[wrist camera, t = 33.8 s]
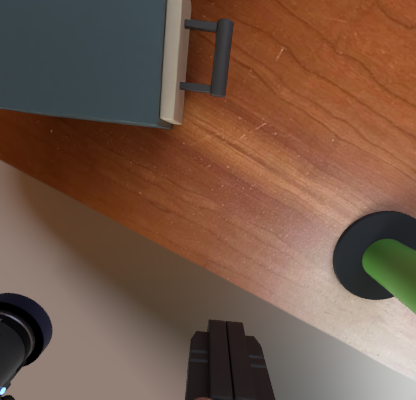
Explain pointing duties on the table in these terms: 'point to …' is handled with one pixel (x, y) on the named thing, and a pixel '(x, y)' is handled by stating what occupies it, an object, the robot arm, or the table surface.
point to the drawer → (178, 52)
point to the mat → (358, 243)
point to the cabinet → (83, 59)
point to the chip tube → (393, 269)
